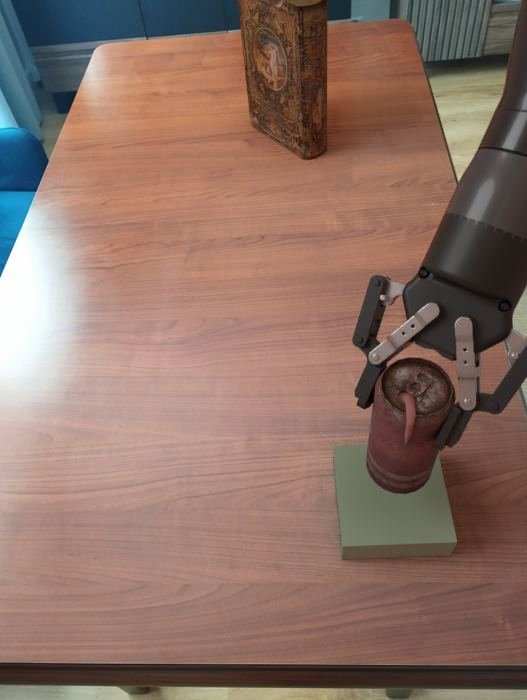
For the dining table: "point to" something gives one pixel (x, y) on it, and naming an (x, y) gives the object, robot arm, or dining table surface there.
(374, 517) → the plate
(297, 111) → the book
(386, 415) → the can
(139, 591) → the dining table surface
